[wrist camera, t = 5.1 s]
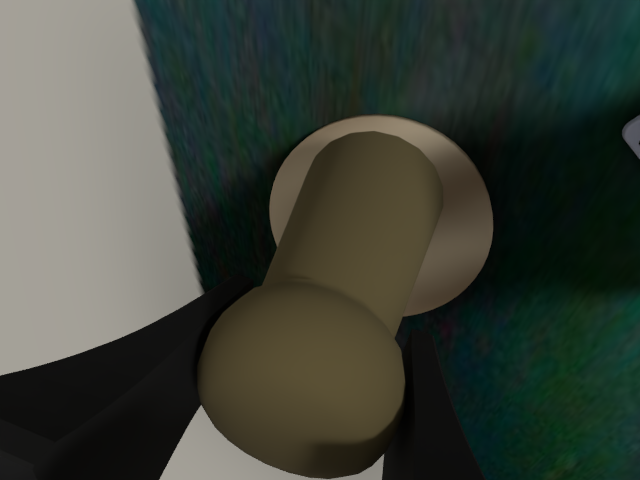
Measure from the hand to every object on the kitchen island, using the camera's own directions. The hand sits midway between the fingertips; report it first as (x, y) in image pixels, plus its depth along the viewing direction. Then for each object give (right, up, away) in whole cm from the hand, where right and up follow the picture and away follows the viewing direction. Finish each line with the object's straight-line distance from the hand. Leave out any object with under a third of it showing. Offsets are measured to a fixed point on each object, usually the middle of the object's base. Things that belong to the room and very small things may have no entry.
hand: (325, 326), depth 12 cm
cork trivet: (+3, +4, +9) cm, 11 cm away
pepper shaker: (+2, +5, +5) cm, 7 cm away
